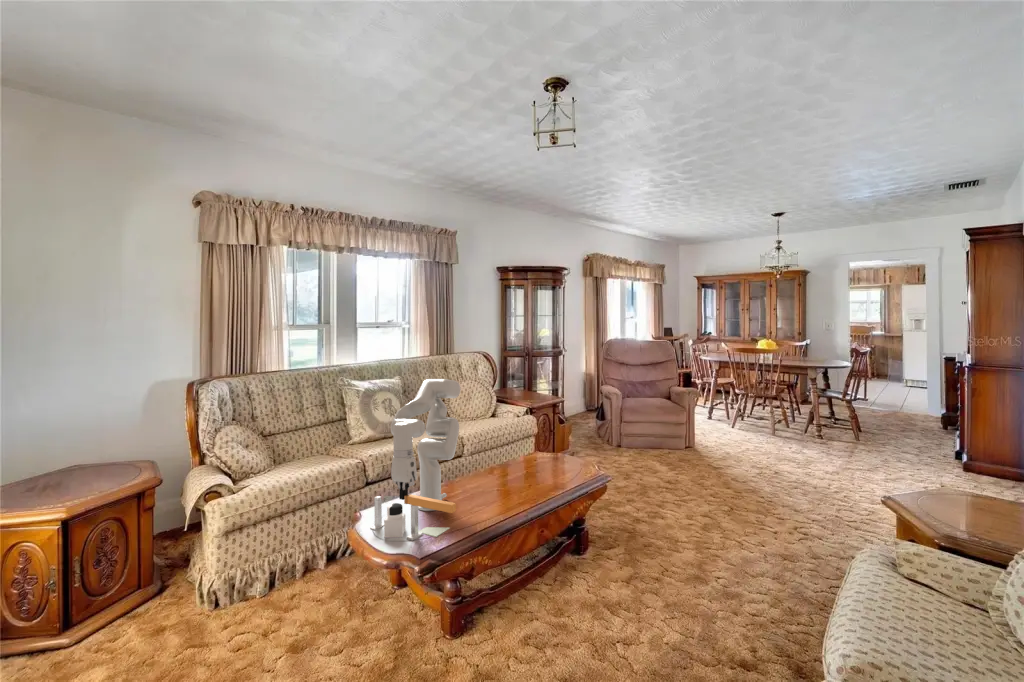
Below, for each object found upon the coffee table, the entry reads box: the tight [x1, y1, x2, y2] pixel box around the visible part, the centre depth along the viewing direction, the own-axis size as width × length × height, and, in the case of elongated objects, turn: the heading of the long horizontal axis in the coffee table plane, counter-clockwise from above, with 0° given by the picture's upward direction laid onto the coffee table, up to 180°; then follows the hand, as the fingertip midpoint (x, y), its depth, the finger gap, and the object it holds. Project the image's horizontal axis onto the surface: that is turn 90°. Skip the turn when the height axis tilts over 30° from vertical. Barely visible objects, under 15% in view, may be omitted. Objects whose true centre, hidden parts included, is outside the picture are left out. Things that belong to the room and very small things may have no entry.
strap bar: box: [403, 493, 457, 514], centre depth 181 cm, size 3×23×3 cm, turn 61°
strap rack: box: [369, 495, 424, 542], centre depth 190 cm, size 6×23×13 cm, turn 61°
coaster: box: [418, 526, 450, 538], centre depth 191 cm, size 10×10×1 cm
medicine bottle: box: [383, 502, 407, 539], centre depth 188 cm, size 7×7×12 cm
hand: (403, 498), depth 187 cm, fingers closed
